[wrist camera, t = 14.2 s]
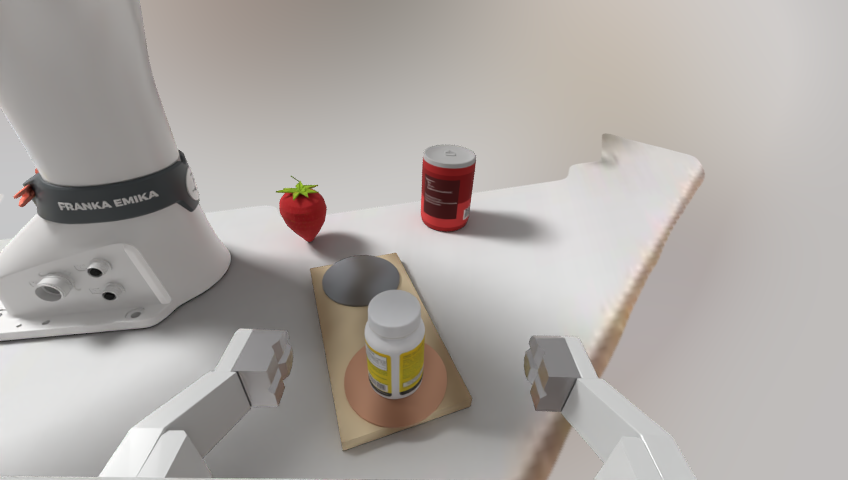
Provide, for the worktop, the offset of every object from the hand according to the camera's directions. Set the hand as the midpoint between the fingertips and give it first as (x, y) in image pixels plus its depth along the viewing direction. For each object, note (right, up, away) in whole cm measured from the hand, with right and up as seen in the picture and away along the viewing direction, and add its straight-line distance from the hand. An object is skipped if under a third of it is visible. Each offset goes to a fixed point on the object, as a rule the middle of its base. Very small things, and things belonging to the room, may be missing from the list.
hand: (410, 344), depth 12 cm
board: (-4, -6, +26) cm, 27 cm away
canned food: (+4, +7, +45) cm, 46 cm away
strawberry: (-16, +3, +39) cm, 42 cm away
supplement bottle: (-2, -9, +19) cm, 21 cm away
